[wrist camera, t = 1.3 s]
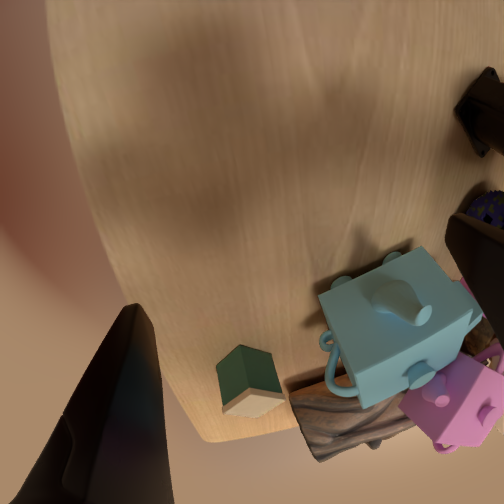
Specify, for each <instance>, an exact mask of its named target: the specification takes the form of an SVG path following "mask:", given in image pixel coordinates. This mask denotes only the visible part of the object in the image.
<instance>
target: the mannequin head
mask: <svg viewBox="0 0 504 504" xmlns="http://www.w3.org/2000/svg"><path fill="white" fill-rule="evenodd" d="M498 342H499V341H498V339H497V338H495V339H493V340H492V341H491V342H490V346H491V345H493V344H495V343H498ZM499 358H500V356H499V355H497V356H493V357H492V361H491V363H490V365H489V368H491V369H493V370H495V369H496V367H497V365H498V362H499ZM502 375H504V371H503V373H502ZM494 425H495V427H496V428H497V430H498V431H499V432H501V433H502V434H503V435H504V413H503V415H502V417H501V418H499V419H498V420H497V421H496V423H495V424H494Z"/></svg>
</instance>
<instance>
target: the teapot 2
mask: <svg viewBox="0 0 504 504" xmlns="http://www.w3.org/2000/svg"><path fill="white" fill-rule="evenodd" d="M497 355H499V356H500V358H499V362H498V365H497V367H496V369H495V370H493V369H491V368H489V367H487V366H485V365H484V364H482V363H480V362H482V361H484V360H486V359H488V358H490V357H493V356H497ZM503 371H504V351H503V349H502V347H501V345H500V343H499V342H498V343H495V344H493V345H491V346H489V347H488V348H486V349H485V350H483V351H482V352H480V353H479V354H477V355H476V356H475V357H473V358H471V357H469V356H467V355H465V354H463V353H461V352H459V353H458V355H457V358H456V360H455V361H453V362H452V363H450V364H448V365H447V366H445V367H444V368H442V369H440V370H439V371H437V372H436V374H435V376H434V377H433V378H432V379H431V380H430V381H429V382H428V383H426V384H425V385H423V386H421V387H419V388H417V389H412V390H411V389H410V388H409V390H408V391H407V393H406V394H405V396H404V397H403V399H402V401H401V402H400V404H399V405H398V408H399V409H400V410H401V411H402V412H404V413H405V414H406V415H407V416H408V417H409V418H410V419H411V420H412V421H413V422H414V423H415V424H416V425H417V426H418V427H419V428H420V429H421V430H422V431H423V432H424V433H425V434H426V435H427V436H429V437H430V438H431V439H432V441H433V446H434V448H435V450H436V451H437V452H438V453H441V454H448V453H451V452H453V451H455V450H456V449H457V448H458V447H459V446H471V447H479V446H480V445H481V443H482V442H483V440H484V439H485V438H486V436H487V435H488V433H489V432H490V430H491V429H492V427H493V426H494V424H495V423H496V421H497V420H498V419H499V418H501V417H502V415H503V413H504V375H502V373H503ZM442 444H449V445H451V446H449V447H447V448H444V447H443V446H442Z"/></svg>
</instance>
